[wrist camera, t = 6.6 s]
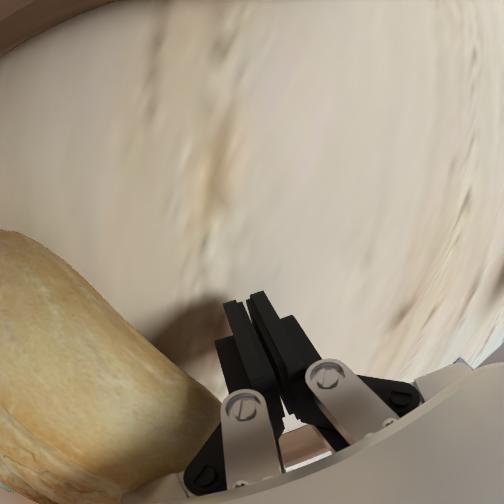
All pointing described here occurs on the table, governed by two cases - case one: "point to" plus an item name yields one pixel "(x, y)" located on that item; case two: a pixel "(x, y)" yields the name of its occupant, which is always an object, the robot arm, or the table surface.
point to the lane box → (45, 16)
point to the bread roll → (85, 389)
